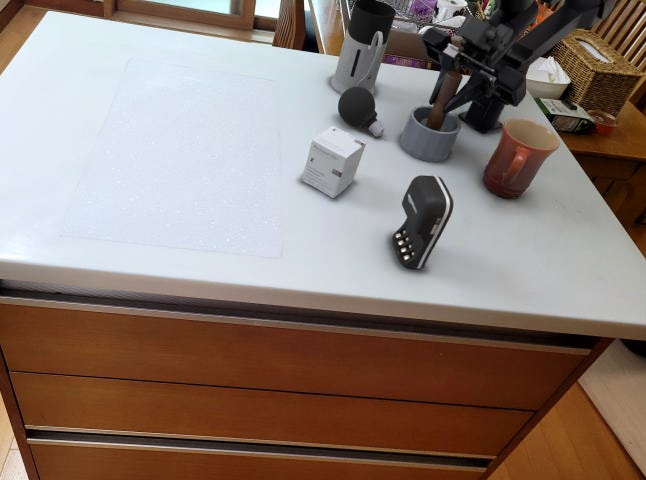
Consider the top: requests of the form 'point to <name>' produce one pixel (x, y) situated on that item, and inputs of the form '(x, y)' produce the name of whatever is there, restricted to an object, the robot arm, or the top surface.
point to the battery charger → (422, 219)
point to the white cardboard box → (333, 161)
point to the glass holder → (363, 45)
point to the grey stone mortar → (428, 136)
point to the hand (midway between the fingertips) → (436, 107)
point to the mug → (518, 157)
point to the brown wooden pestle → (443, 101)
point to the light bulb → (360, 109)
